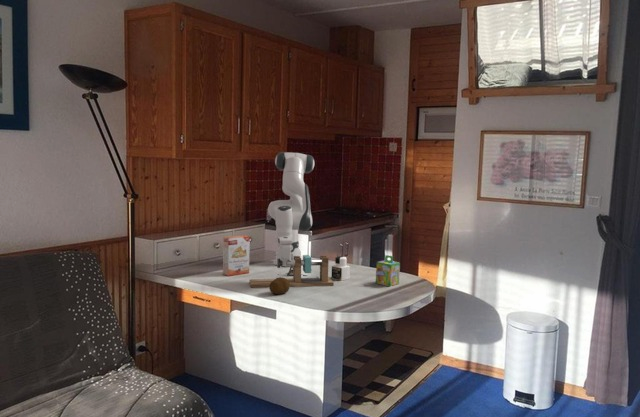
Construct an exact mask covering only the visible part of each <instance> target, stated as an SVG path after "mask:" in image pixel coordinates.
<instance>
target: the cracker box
mask: <svg viewBox="0 0 640 417" xmlns="http://www.w3.org/2000/svg"><path fill="white" fill-rule="evenodd" d="M250 238H251V237H250V236H248V235H245V234H244V235H233V236H224V237H222V239H223V240H222V242H223V244H222V247H223V248H222V250H223V251H222V275H224V276H227V277H231V276H237V275H238V276H239V275H245V274H249V273H250V251H251V250H250V247H251V246H250V245H251V244H250V242H251V239H250Z"/></svg>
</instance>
